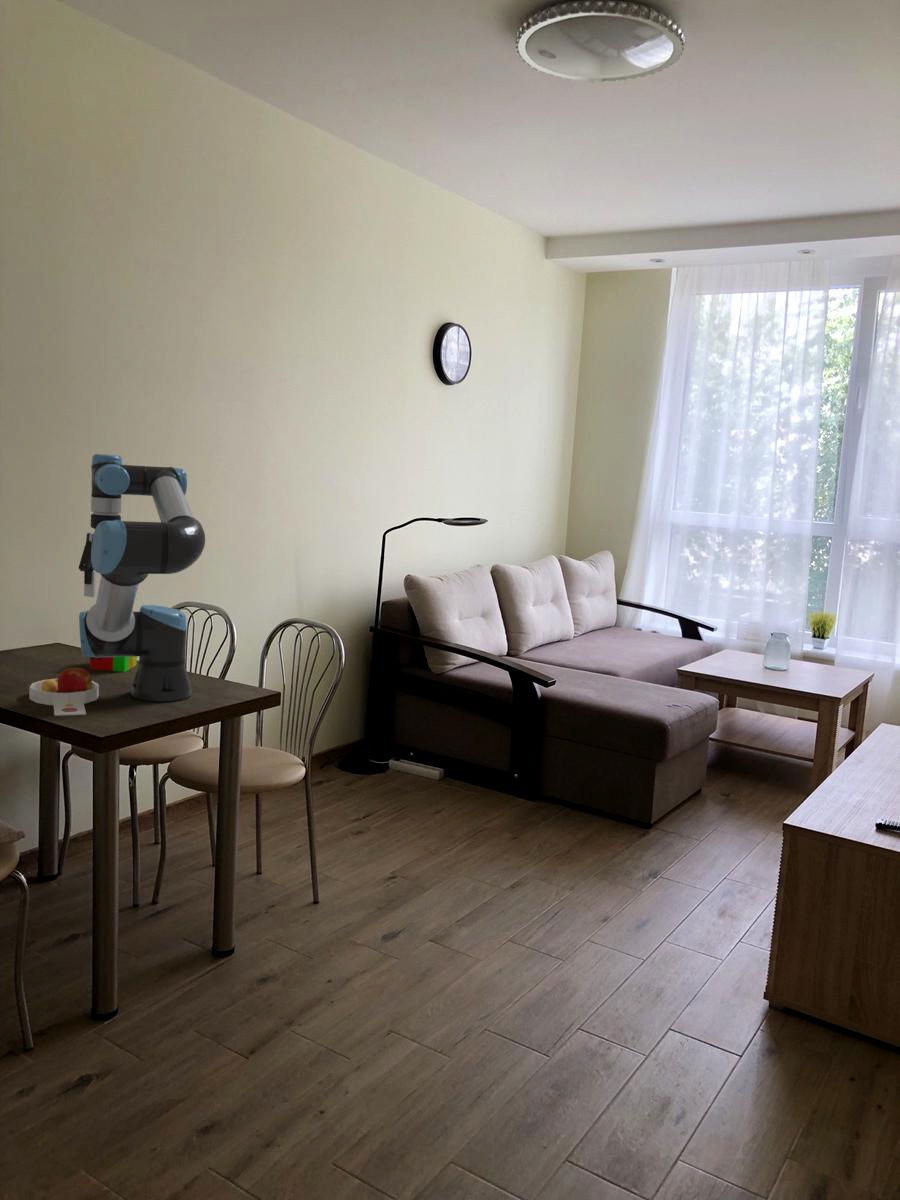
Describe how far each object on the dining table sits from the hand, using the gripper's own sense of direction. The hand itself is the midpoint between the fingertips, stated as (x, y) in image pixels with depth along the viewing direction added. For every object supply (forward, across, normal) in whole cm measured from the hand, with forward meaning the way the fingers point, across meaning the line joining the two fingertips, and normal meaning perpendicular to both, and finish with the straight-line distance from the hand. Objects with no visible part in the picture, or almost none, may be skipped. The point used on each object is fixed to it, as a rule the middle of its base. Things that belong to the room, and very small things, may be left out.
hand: (104, 593), depth 266 cm
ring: (+25, +16, 0) cm, 30 cm away
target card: (+25, +26, +7) cm, 37 cm away
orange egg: (+25, +16, -5) cm, 30 cm away
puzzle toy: (+25, -19, -8) cm, 33 cm away
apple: (+25, +16, +2) cm, 30 cm away
